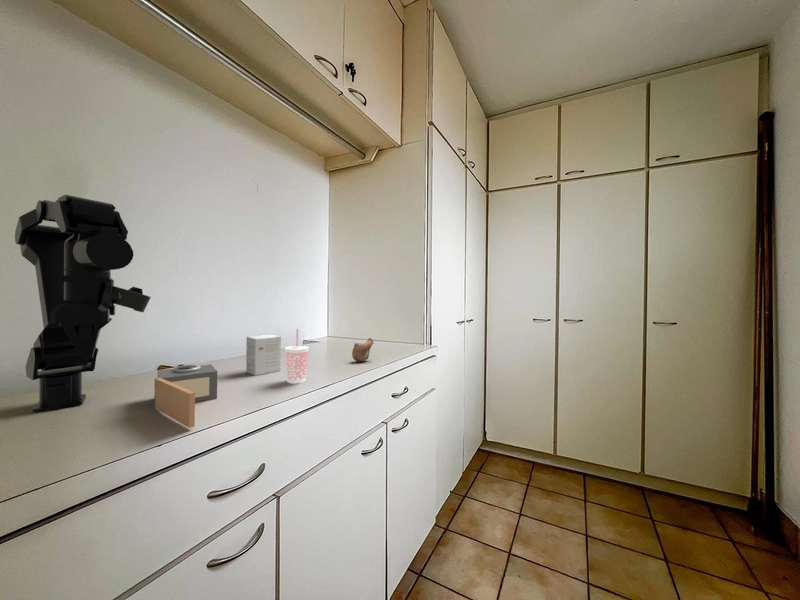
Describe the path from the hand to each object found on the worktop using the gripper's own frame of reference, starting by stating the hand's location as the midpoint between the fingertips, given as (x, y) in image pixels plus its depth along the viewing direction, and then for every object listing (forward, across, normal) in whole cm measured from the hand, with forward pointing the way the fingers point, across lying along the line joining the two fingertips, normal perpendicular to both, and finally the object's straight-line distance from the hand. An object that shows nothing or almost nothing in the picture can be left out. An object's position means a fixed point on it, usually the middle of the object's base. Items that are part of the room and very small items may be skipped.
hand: (87, 359), depth 54 cm
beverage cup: (+11, +3, -39) cm, 41 cm away
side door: (+11, -8, -12) cm, 18 cm away
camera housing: (+11, +4, -15) cm, 19 cm away
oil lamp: (+11, +13, -67) cm, 69 cm away
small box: (+11, +18, -35) cm, 41 cm away
